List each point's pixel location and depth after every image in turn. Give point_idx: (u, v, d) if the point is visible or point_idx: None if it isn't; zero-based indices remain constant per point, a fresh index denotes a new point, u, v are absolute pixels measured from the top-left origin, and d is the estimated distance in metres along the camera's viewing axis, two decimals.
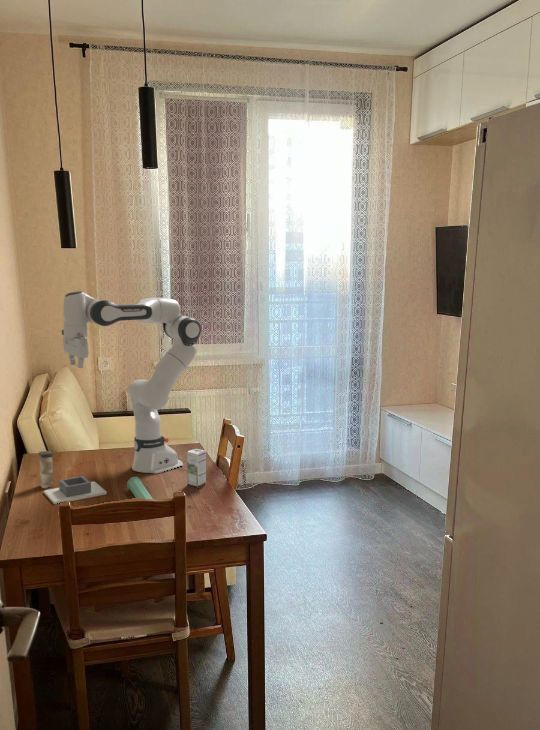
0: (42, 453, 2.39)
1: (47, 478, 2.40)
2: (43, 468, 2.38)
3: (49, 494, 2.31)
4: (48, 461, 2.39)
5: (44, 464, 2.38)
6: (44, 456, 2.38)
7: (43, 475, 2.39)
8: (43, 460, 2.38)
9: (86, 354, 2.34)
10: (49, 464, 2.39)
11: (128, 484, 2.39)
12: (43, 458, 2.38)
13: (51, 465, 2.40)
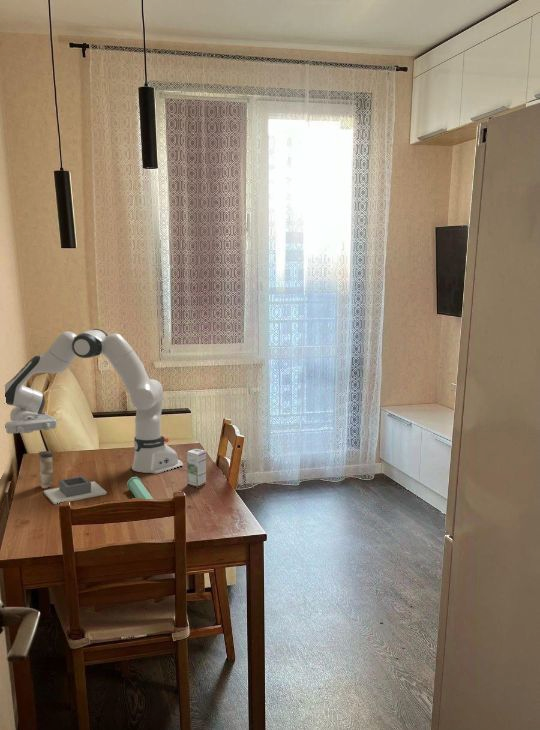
0: (42, 453, 2.39)
1: (47, 478, 2.40)
2: (43, 468, 2.38)
3: (49, 494, 2.31)
4: (48, 461, 2.39)
5: (44, 464, 2.38)
6: (44, 456, 2.38)
7: (43, 475, 2.39)
8: (43, 460, 2.38)
9: (6, 427, 2.48)
10: (49, 464, 2.39)
11: (128, 484, 2.39)
12: (43, 458, 2.38)
13: (51, 465, 2.40)
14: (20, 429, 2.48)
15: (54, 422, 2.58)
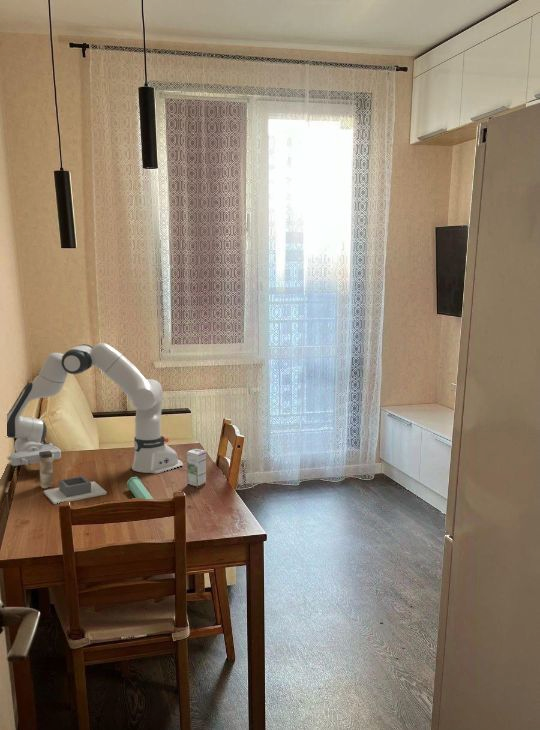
0: (42, 453, 2.39)
1: (47, 478, 2.40)
2: (43, 468, 2.38)
3: (49, 494, 2.31)
4: (48, 461, 2.39)
5: (44, 464, 2.38)
6: (44, 456, 2.38)
7: (43, 475, 2.39)
8: (43, 460, 2.38)
9: (11, 459, 2.47)
10: (49, 464, 2.39)
11: (128, 484, 2.39)
12: (43, 458, 2.38)
13: (51, 465, 2.40)
14: (24, 461, 2.47)
15: (58, 452, 2.57)
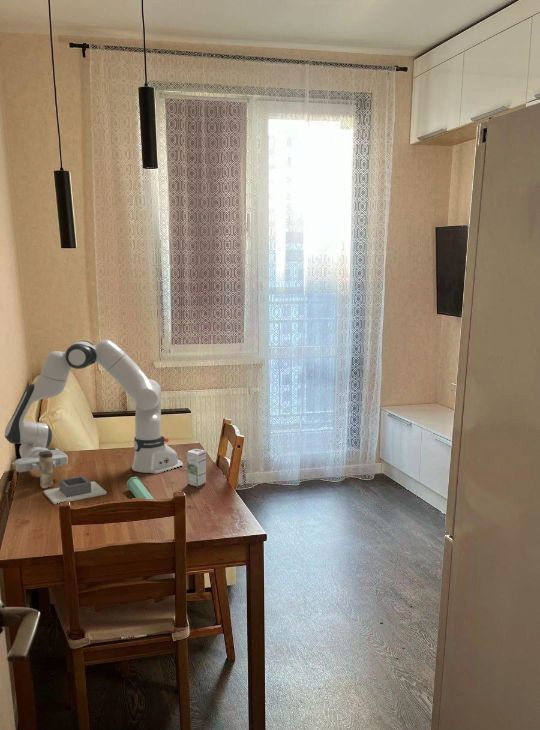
0: (42, 453, 2.39)
1: (47, 478, 2.40)
2: (43, 468, 2.38)
3: (49, 494, 2.31)
4: (48, 461, 2.39)
5: (44, 464, 2.38)
6: (44, 456, 2.38)
7: (43, 475, 2.39)
8: (43, 460, 2.38)
9: (16, 465, 2.39)
10: (49, 464, 2.39)
11: (128, 484, 2.38)
12: (43, 458, 2.38)
13: (51, 465, 2.40)
14: (35, 466, 2.40)
15: (65, 458, 2.49)
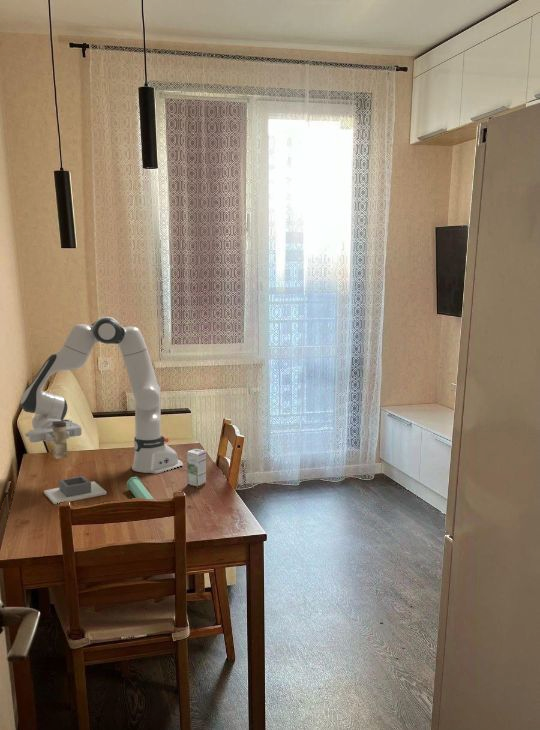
0: (55, 423, 2.33)
1: (61, 448, 2.34)
2: (57, 438, 2.33)
3: (49, 494, 2.31)
4: (62, 431, 2.34)
5: (58, 434, 2.33)
6: (58, 425, 2.32)
7: (57, 445, 2.33)
8: (57, 430, 2.32)
9: (29, 435, 2.34)
10: (62, 434, 2.34)
11: (128, 484, 2.38)
12: (57, 428, 2.32)
13: (65, 435, 2.34)
14: (49, 437, 2.34)
15: (79, 429, 2.43)
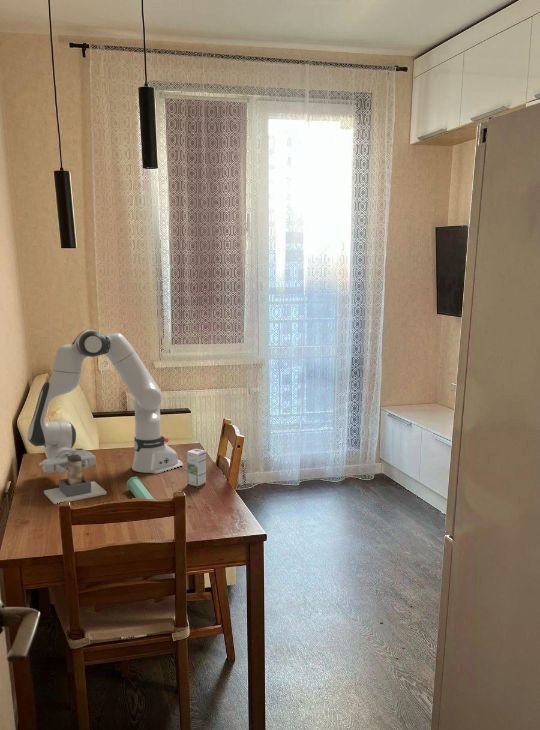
0: (71, 457, 2.31)
1: (76, 483, 2.32)
2: (72, 472, 2.31)
3: (49, 494, 2.31)
4: (77, 465, 2.32)
5: (73, 468, 2.31)
6: (73, 460, 2.31)
7: (72, 480, 2.31)
8: (72, 464, 2.31)
9: (44, 466, 2.31)
10: (77, 468, 2.32)
11: (128, 484, 2.38)
12: (72, 462, 2.30)
13: (80, 469, 2.33)
14: (59, 468, 2.31)
15: (93, 459, 2.41)
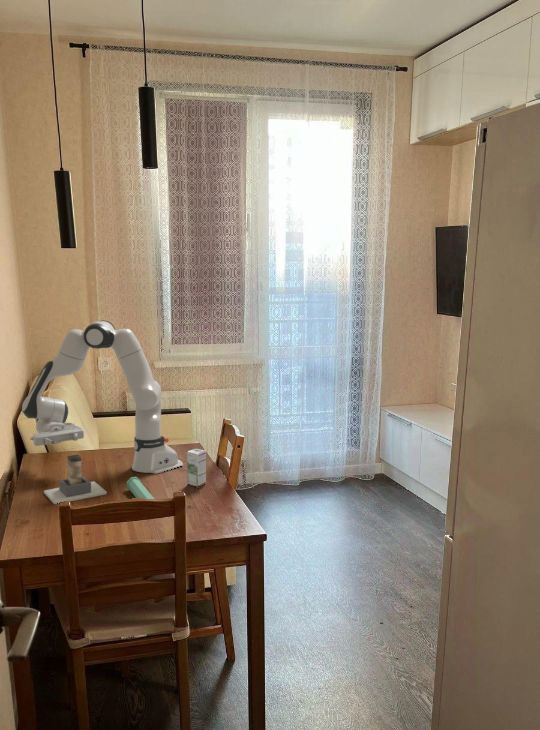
0: (71, 457, 2.31)
1: (76, 483, 2.32)
2: (72, 472, 2.31)
3: (49, 494, 2.31)
4: (77, 465, 2.32)
5: (73, 468, 2.31)
6: (73, 460, 2.31)
7: (72, 480, 2.31)
8: (72, 464, 2.31)
9: (34, 439, 2.42)
10: (77, 468, 2.32)
11: (127, 484, 2.38)
12: (72, 462, 2.30)
13: (80, 469, 2.33)
14: (48, 441, 2.42)
15: (81, 432, 2.52)
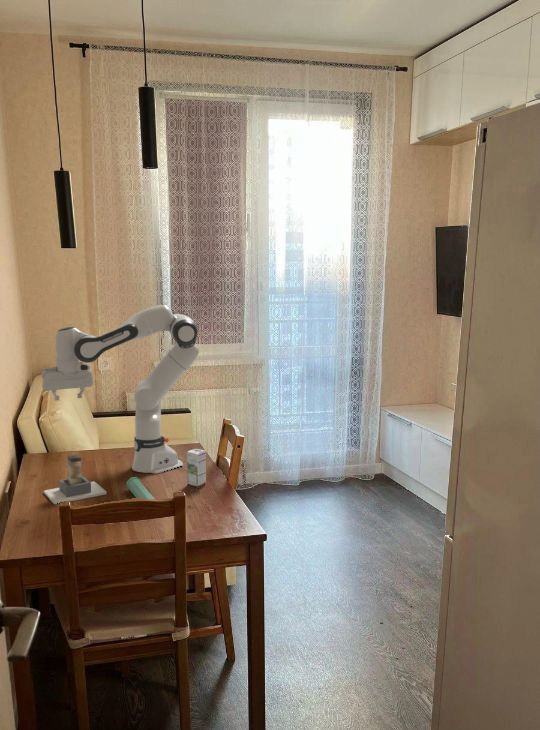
0: (71, 457, 2.31)
1: (76, 483, 2.32)
2: (72, 472, 2.31)
3: (49, 494, 2.31)
4: (77, 465, 2.32)
5: (73, 468, 2.31)
6: (73, 460, 2.31)
7: (72, 480, 2.31)
8: (72, 464, 2.31)
9: (43, 387, 2.43)
10: (77, 468, 2.32)
11: (127, 484, 2.38)
12: (72, 462, 2.30)
13: (80, 469, 2.33)
14: (54, 396, 2.46)
15: None
